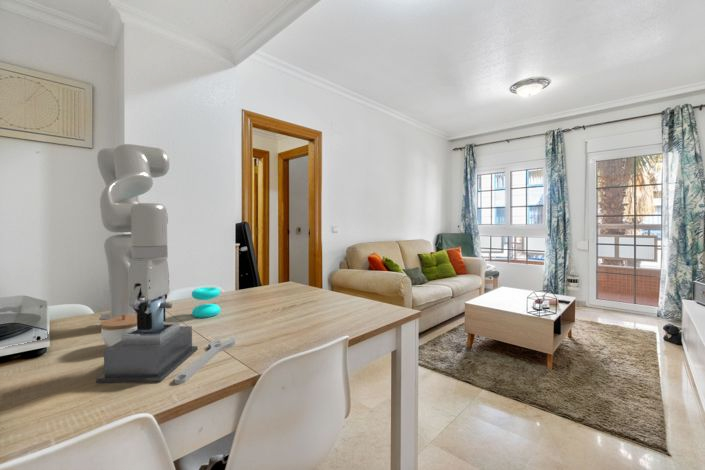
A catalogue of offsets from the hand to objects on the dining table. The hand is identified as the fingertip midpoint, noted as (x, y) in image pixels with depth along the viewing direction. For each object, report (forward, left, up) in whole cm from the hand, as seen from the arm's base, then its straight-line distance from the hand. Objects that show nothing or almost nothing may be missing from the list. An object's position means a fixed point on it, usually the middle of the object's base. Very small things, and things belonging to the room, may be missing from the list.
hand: (151, 324), depth 79 cm
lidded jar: (-15, +12, -10) cm, 22 cm away
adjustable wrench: (+12, +3, -11) cm, 16 cm away
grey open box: (0, 0, -10) cm, 10 cm away
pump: (+1, 0, -1) cm, 1 cm away
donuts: (-5, +43, -10) cm, 45 cm away
